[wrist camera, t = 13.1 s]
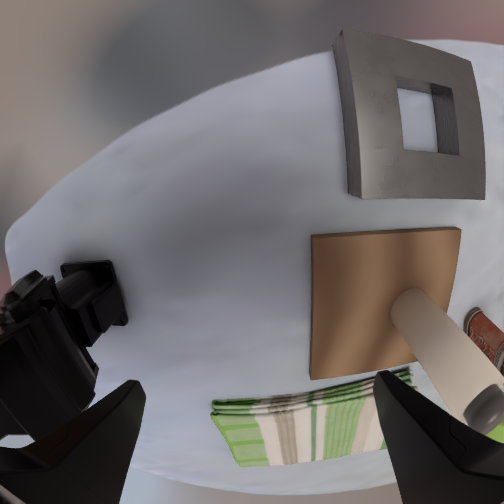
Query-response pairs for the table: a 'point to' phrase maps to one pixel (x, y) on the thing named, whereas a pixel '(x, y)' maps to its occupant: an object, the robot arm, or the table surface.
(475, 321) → the lighter
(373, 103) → the housing
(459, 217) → the table surface
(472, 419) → the white bottle
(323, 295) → the board
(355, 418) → the dish towel
